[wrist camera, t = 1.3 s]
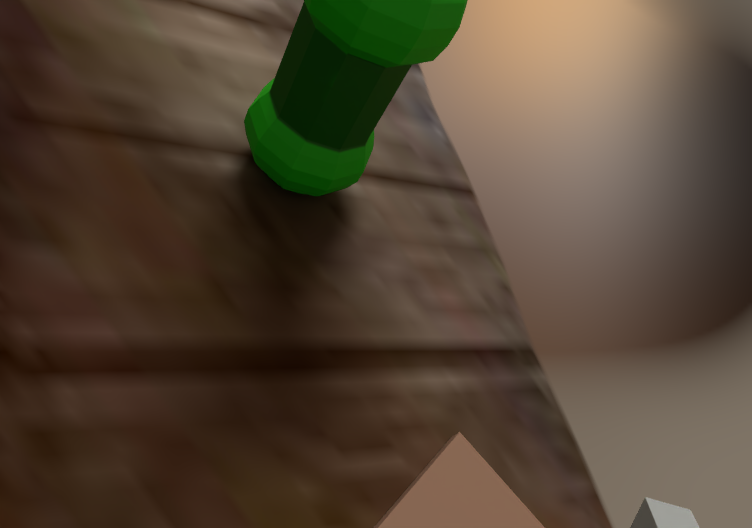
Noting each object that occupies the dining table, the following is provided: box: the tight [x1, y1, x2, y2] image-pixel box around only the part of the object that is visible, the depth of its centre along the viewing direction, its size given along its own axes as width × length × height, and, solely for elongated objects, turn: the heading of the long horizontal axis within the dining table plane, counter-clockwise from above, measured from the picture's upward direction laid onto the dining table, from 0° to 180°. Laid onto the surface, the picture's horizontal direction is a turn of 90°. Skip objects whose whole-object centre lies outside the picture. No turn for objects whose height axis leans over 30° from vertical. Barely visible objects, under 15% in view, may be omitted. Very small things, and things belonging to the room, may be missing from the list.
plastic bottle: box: [244, 0, 467, 196], centre depth 38 cm, size 10×10×25 cm
